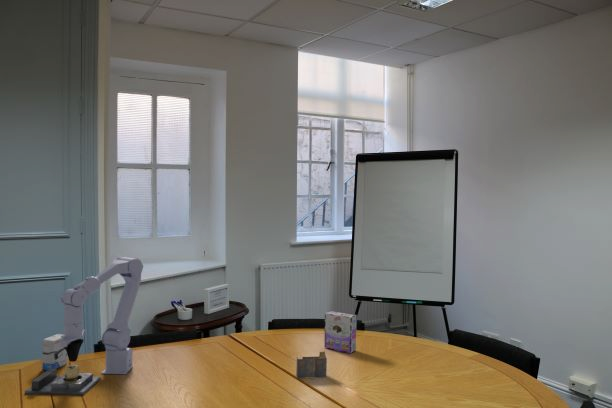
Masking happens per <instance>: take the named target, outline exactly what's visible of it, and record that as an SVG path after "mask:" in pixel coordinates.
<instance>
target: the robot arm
mask: <svg viewBox="0 0 612 408" xmlns="http://www.w3.org/2000/svg"><path fill="white" fill-rule="evenodd" d="M143 269H144V265H143V263H142V261H141V259H139V258H136V257H135V258H132V257H126V256H118V257H117V258H115V259H113V260H112V262H111V264H109V265H108V266H106V268H104V269H103V270H101V271H100V272H99V273H98V274H97V275H95V276H93V275H92V276H86V277H85V278H84V280H82V282H80V283H78V284H75V285H74V287H73V288H69V289H66V290H65V291H64V292H63V293H62V296H61V297H60V301H61V303H62V304H63V309H64V326H63V327H64V329H63V330H64V332H63V334H62V335H61V338H63V339H62V341H60V347H64V348H65V350H66V352H67V359H68V362H70V363H71V362H72V363H73V362H77V361H78V357H79V354H80V349H81V347H82V346H83V343H84V342H85V341H84V339H83V337H84V336H85V335H86V329H83V306H84V305H85V303H86V301H87V299H88V298H89V297H91V295H93V294H95V293H96V292H97V291H98V290H100V289H101V285H102V284H103V283H106V282H107V281H108V280H110V279H112V278H113V277H115V276H116V275H120V276H121V277H122V278H123V280H124V282H125V283H124V286H123V288H122V289H123V290H122V293H121V296H120V298H119V302H118V305H117V308H116V311H115V314H114V317H113V320H112V321H111V322H110V323H108V325H107V326H106V328H105V330H104V332H103V333H102V335H101V342H102V344H103V345H104V348H105V368H104V369H103V370H102V371H101V374H102V375H104V374H105V375H126V374H128V372H129V371H130V370H131V369H133V367H134V366H133V348H131V347H128V346H129V344H130V341H131V332H132V330H131V327H130V325H129V320H130V317H131V314H132V312H133V311H132V310H133V308H134V304H135V302H136V301H135V300H136V298H137V295H138V291H139V288H140V286H141V285H140V284H141V281H142V273H143Z"/></svg>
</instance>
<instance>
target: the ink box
mask: <svg viewBox="0 0 612 408" xmlns="http://www.w3.org/2000/svg"><path fill="white" fill-rule="evenodd" d="M61 335H63V334H62V333H56V334H54V335H51V336H49V337H46V338H43V340H42V363H41V364H42V367H41V369H42V370H43V371H47V370H49V369H57V370H58V369H59V368H61V367H63V366H65V365H67V364H68V355H67V352H66V350H65V348H64V347H60V341H62V339H63V338H61Z"/></svg>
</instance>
